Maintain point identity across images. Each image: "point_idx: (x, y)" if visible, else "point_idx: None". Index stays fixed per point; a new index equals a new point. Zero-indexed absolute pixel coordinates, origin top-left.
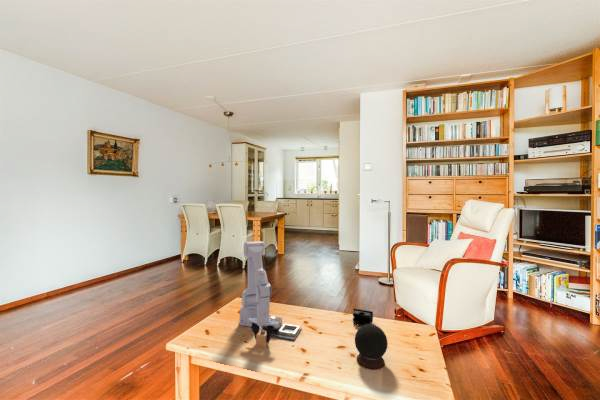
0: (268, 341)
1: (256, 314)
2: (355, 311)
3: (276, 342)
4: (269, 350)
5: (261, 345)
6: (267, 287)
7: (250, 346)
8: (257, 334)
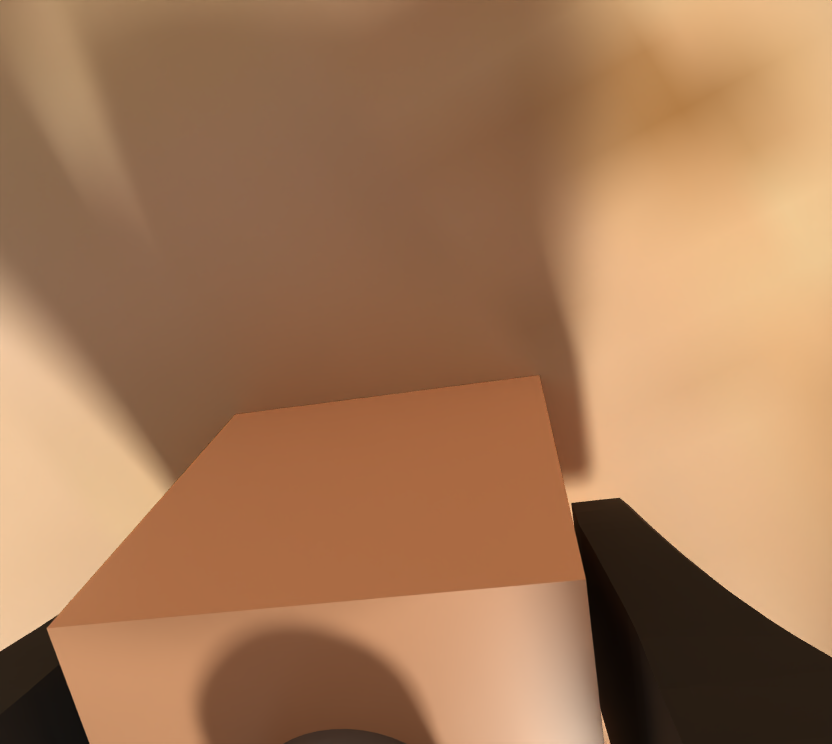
0: None
1: None
2: None
3: None
4: (11, 308)
5: (347, 406)
6: None
7: (673, 233)
8: (521, 608)
